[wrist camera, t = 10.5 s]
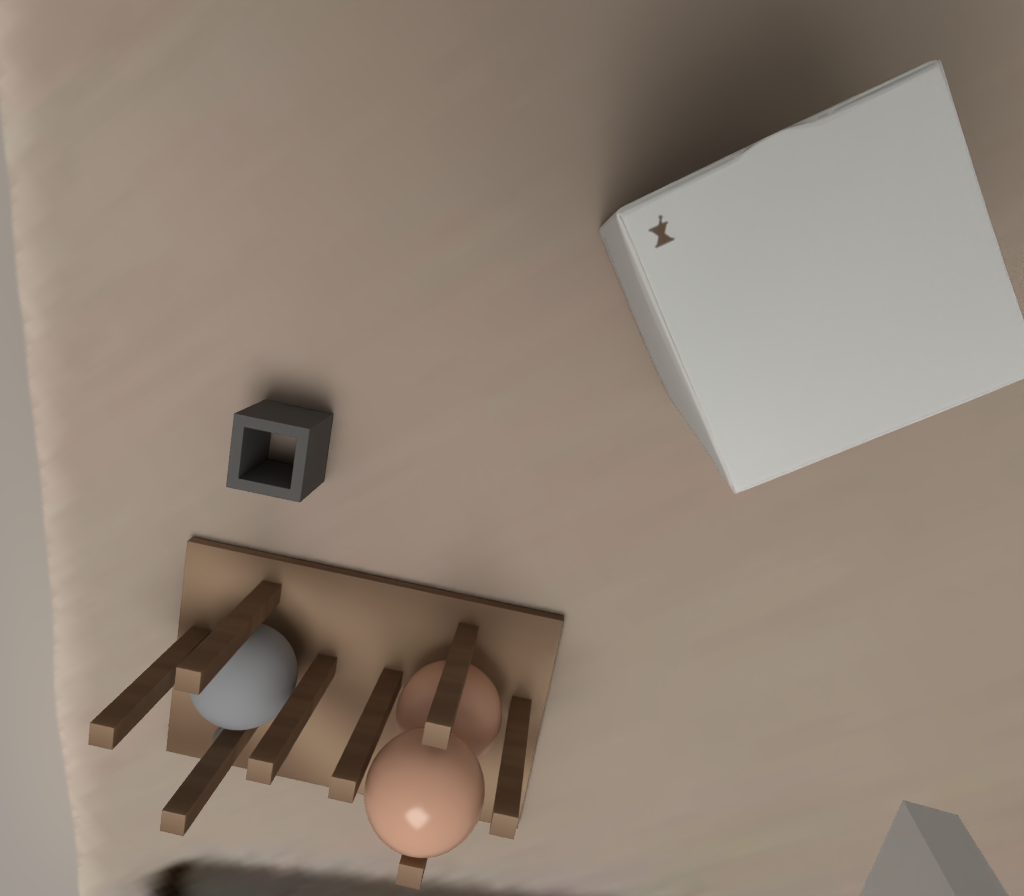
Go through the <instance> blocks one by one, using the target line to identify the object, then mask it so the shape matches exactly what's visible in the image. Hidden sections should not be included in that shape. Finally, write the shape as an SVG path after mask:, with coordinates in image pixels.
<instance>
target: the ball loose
mask: <svg viewBox="0 0 1024 896" xmlns="http://www.w3.org/2000/svg"><path fill="white" fill-rule="evenodd" d="M424 728H425V727H423V728H416V729H411V730H408V731H406V732H403V733H401V734H399V735H398V736H396V737H394V738H393V739H391V740H390V741H389V742H388V743H387V744H386V745H385V746H383V747H382V749H381V750H380V751H379V752H378V754H377V755H376V757H375V758H374V760H373V762H372V764H371V766H370V768H369V771H368V773H367V777H366V781H365V788H364V804H365V810H366V814H367V817H368V820H369V822H370V824H371V826H372V828H373V830H374V832H375V833H376V835H377V836H378V837H379V838H380V839H381V841H382V842H383V843H385V844H386V845H387V846H388V847H390V848H391V849H392V850H394V851H396V852H398V853H400V854H403V855H405V856H409V857H414V858H429V857H435V856H439V855H442V854H444V853H447V852H449V851H451V850H452V849H454V848H455V847H457V846H458V845H459V844H461V843H462V842H463V841H464V840H465V839H466V838H467V837H468V836H469V834H470V833H471V832H472V830H473V829H474V827H475V826H476V824H477V822H478V820H479V818H480V815H481V812H482V809H483V805H484V799H485V781H484V775H483V771H482V768H481V765H480V763H479V761H478V759H477V757H476V755H475V753H474V752H473V751H472V749H471V748H470V747H469V746H468V745H467V744H466V743H465V742H464V741H463V740H462V739H460V738H459V737H458V736H456V735H454V734H453V733H451V735H450V739H449V743H448V746H447V750H446V749H441V748H436V747H432V746H427V745H423V744H422V739H423V734H424Z"/></svg>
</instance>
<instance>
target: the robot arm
mask: <svg viewBox="0 0 1024 896" xmlns="http://www.w3.org/2000/svg"><path fill="white" fill-rule="evenodd" d="M860 896H1008V894H1007V893H1006V891H1005V889H1004V888H1003V886H1002V885H1001V883H1000V881H999V880H998V878H997V877H996V875H995V874H994V872H993V870H992V869H991V867H990V866H989V864H988V862H987V861H986V859H985V858H984V856H983V854H982V853H981V851H980V850H979V848H978V847H977V845H976V843H975V842H974V840H973V839H972V837H971V835H970V834H969V832H968V831H967V829H966V827H965V826H964V824H963V823H962V821H961V820H960V818H959V816H958V815H955V814H952V813H948V812H944V811H941V810H937V809H933V808H930V807H926V806H922V805H919V804H915V803H911V802H908V801H904V800H903V801H902V803H901V806H900V808H899V810H898V812H897V815H896V817H895V819H894V821H893V823H892V826H891V828H890V830H889V832H888V835H887V837H886V839H885V841H884V843H883V846H882V848H881V850H880V852H879V855H878V857H877V859H876V861H875V863H874V866H873V868H872V870H871V872H870V874H869V877H868V879H867V881H866V883H865V886H864V888H863V890H862V892H861V894H860Z"/></svg>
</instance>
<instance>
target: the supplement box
mask: <svg viewBox="0 0 1024 896" xmlns="http://www.w3.org/2000/svg"><path fill="white" fill-rule="evenodd" d="M599 232H600V235H601V238H602V240H603V243H604V245H605V248H606V250H607V253H608V255H609V258H610V260H611V263H612V265H613V268H614V270H615V273H616V275H617V278H618V280H619V283H620V285H621V288H622V290H623V293H624V295H625V298H626V300H627V302H628V305H629V307H630V310H631V312H632V314H633V317H634V319H635V322H636V324H637V326H638V329H639V331H640V333H641V336H642V338H643V340H644V343H645V345H646V348H647V350H648V352H649V355H650V357H651V359H652V362H653V364H654V366H655V368H656V370H657V373H658V375H659V377H660V379H661V381H662V383H663V385H664V387H665V389H666V391H667V393H668V395H669V397H670V399H671V400H672V402H673V404H674V405H675V407H676V408H677V410H678V411H679V413H680V414H681V416H682V417H683V418H684V420H685V421H686V423H687V424H688V426H689V427H690V428H691V430H692V431H693V433H694V434H695V436H696V437H697V439H698V440H699V441H700V443H701V444H702V446H703V447H704V449H705V450H706V452H707V453H708V455H709V456H710V458H711V459H712V461H713V462H714V464H715V465H716V467H717V468H718V470H719V471H720V473H721V474H722V476H723V477H724V479H725V480H726V482H727V483H728V485H729V486H730V488H731V489H732V490H733V492H734V493H739V492H742V491H744V490H747V489H749V488H752V487H754V486H757V485H760V484H762V483H765V482H767V481H770V480H772V479H775V478H777V477H780V476H782V475H785V474H787V473H790V472H792V471H795V470H797V469H800V468H802V467H805V466H807V465H810V464H812V463H815V462H817V461H820V460H822V459H825V458H827V457H830V456H832V455H835V454H837V453H840V452H842V451H845V450H847V449H850V448H852V447H855V446H857V445H860V444H862V443H865V442H867V441H870V440H872V439H875V438H877V437H880V436H882V435H885V434H887V433H890V432H892V431H895V430H897V429H900V428H902V427H905V426H907V425H910V424H913V423H915V422H918V421H920V420H923V419H925V418H928V417H930V416H933V415H935V414H938V413H940V412H943V411H945V410H948V409H950V408H953V407H955V406H958V405H960V404H963V403H965V402H968V401H970V400H973V399H975V398H978V397H980V396H983V395H985V394H987V393H990V392H992V391H995V390H997V389H1000V388H1002V387H1004V386H1007V385H1009V384H1012V383H1014V382H1017V381H1019V380H1022V379H1024V319H1023V317H1022V314H1021V311H1020V308H1019V305H1018V301H1017V299H1016V297H1015V294H1014V290H1013V287H1012V284H1011V281H1010V279H1009V276H1008V273H1007V270H1006V267H1005V264H1004V261H1003V258H1002V255H1001V252H1000V248H999V245H998V242H997V239H996V236H995V233H994V230H993V227H992V224H991V221H990V218H989V215H988V212H987V209H986V205H985V202H984V199H983V196H982V192H981V189H980V186H979V183H978V180H977V177H976V174H975V170H974V167H973V164H972V160H971V157H970V153H969V150H968V147H967V144H966V141H965V138H964V135H963V132H962V128H961V125H960V122H959V119H958V115H957V112H956V109H955V105H954V102H953V99H952V95H951V92H950V89H949V85H948V82H947V79H946V75H945V72H944V69H943V66H942V62H941V61H940V60H932V61H929V62H925V63H923V64H921V65H919V66H917V67H915V68H913V69H911V70H909V71H906V72H904V73H902V74H900V75H898V76H896V77H894V78H891V79H889V80H887V81H885V82H883V83H881V84H879V85H876V86H874V87H872V88H870V89H868V90H866V91H864V92H861V93H859V94H857V95H855V96H853V97H851V98H848V99H846V100H844V101H842V102H840V103H838V104H836V105H833V106H831V107H829V108H827V109H825V110H823V111H820V112H818V113H816V114H814V115H812V116H810V117H808V118H806V119H804V120H801V121H799V122H797V123H795V124H793V125H791V126H789V127H787V128H784V129H782V130H780V131H778V132H776V133H774V134H772V135H770V136H768V137H765V138H763V139H761V140H759V141H757V142H755V143H753V144H751V145H749V146H747V147H745V148H743V149H741V150H738V151H736V152H734V153H732V154H730V155H728V156H726V157H724V158H722V159H720V160H718V161H716V162H714V163H711V164H709V165H707V166H705V167H703V168H701V169H699V170H697V171H695V172H693V173H691V174H689V175H687V176H685V177H683V178H681V179H679V180H677V181H674V182H672V183H670V184H668V185H666V186H664V187H662V188H660V189H658V190H656V191H654V192H652V193H650V194H648V195H645V196H643V197H641V198H639V199H637V200H635V201H633V202H631V203H629V204H626V205H624V206H623V207H621V208H620V209H618V210H617V211H616V212H615V213H614V214H613V215H612V216H611V217H610V218H609V219H608V220H607V221H606V222H605V223H604V224H603V225H602V226H601V227H600V228H599Z"/></svg>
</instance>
